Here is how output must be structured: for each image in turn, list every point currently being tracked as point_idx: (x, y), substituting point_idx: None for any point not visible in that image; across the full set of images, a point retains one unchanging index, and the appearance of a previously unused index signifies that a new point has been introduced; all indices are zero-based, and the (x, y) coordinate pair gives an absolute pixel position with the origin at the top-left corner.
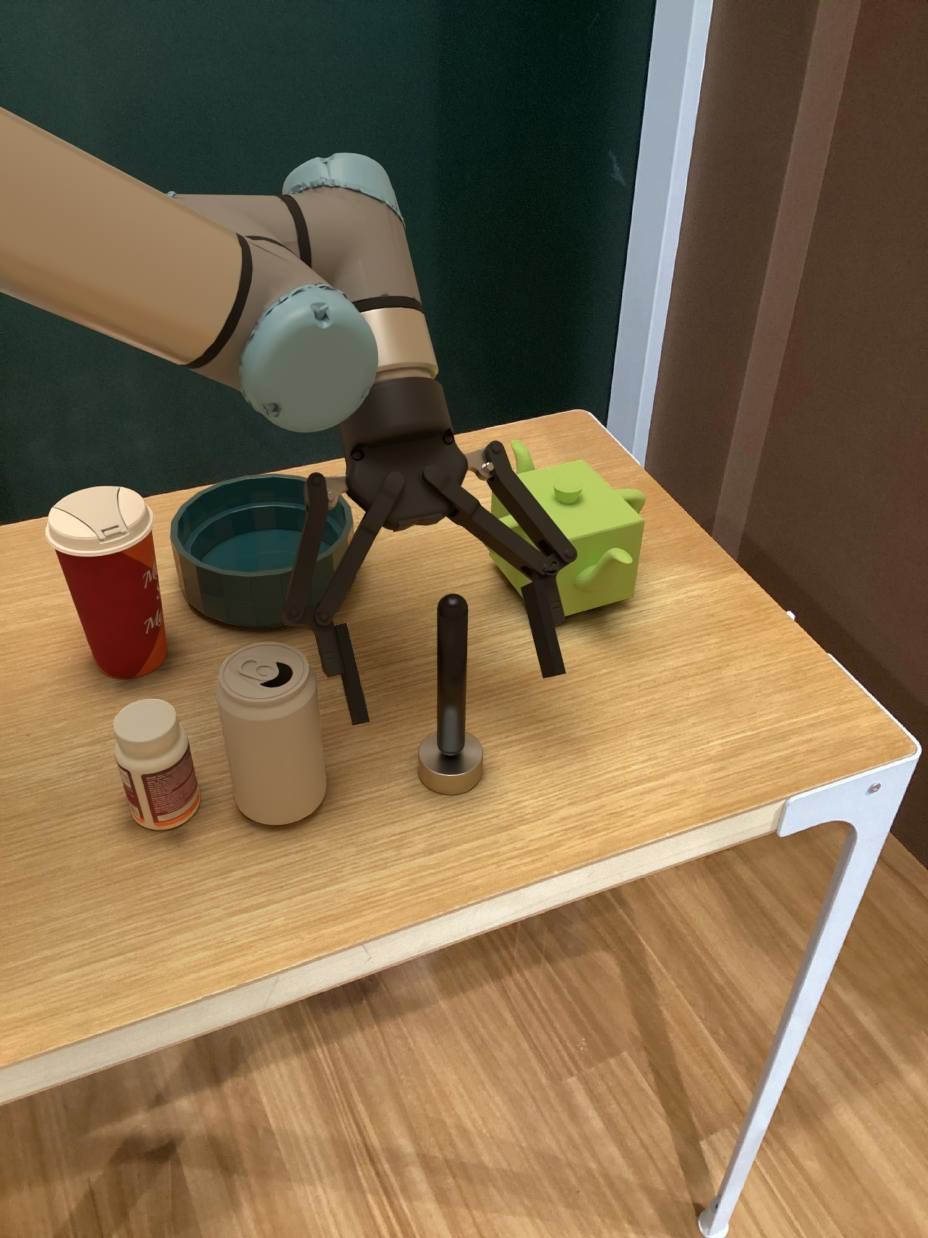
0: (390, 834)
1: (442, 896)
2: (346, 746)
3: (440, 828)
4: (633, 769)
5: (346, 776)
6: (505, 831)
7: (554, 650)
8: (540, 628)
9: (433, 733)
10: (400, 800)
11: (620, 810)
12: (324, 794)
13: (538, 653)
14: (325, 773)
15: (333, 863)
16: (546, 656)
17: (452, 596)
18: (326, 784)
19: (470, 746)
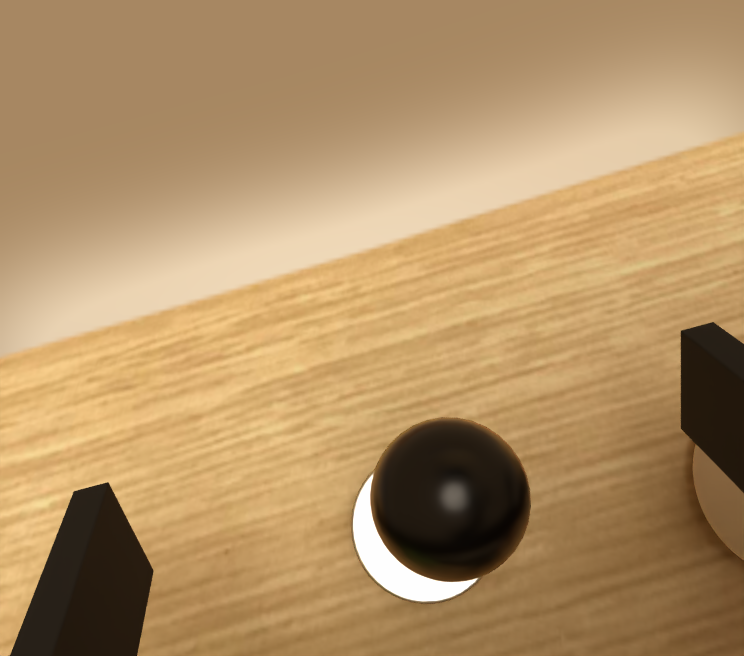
0: (547, 370)
1: (455, 237)
2: (657, 626)
3: (452, 377)
4: (46, 497)
5: (648, 529)
6: (331, 361)
7: (73, 541)
8: (84, 634)
9: (462, 589)
10: (529, 452)
11: (108, 394)
12: (695, 450)
13: (134, 622)
14: (709, 478)
15: (649, 313)
16: (111, 561)
17: (456, 497)
18: (695, 478)
19: (378, 537)
